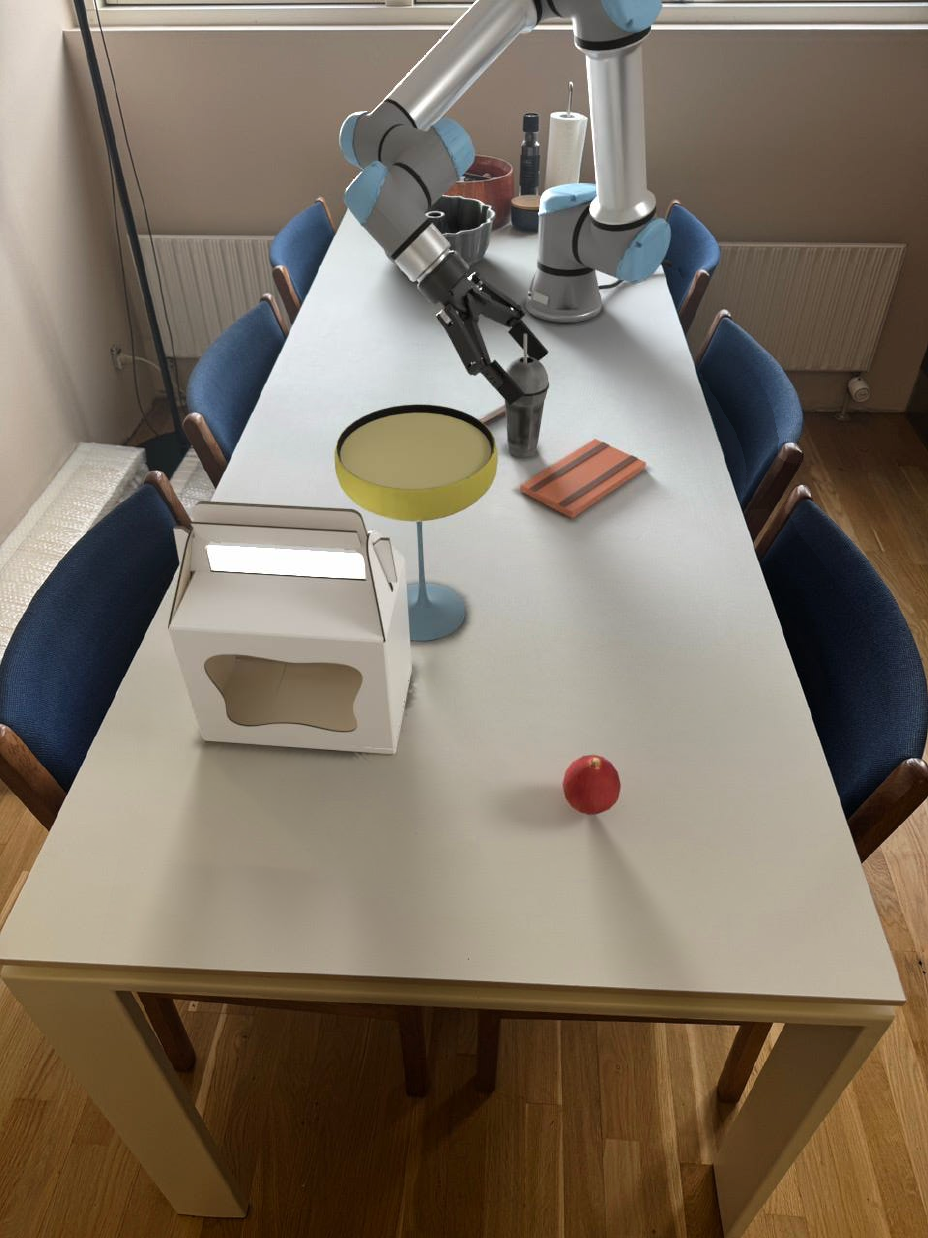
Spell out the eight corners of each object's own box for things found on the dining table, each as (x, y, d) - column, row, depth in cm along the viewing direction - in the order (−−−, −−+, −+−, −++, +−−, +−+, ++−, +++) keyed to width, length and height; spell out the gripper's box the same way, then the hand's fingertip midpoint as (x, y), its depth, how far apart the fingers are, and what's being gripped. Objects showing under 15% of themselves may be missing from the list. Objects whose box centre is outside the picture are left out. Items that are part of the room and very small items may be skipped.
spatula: (507, 398, 156) (507, 394, 156) (531, 409, 153) (531, 405, 153) (420, 445, 145) (420, 441, 145) (444, 458, 142) (444, 453, 142)
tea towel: (594, 445, 145) (595, 438, 144) (645, 468, 140) (646, 461, 139) (520, 491, 136) (520, 484, 135) (572, 518, 130) (572, 511, 130)
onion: (556, 786, 96) (561, 737, 90) (609, 782, 96) (618, 733, 90) (565, 832, 91) (571, 784, 86) (621, 828, 92) (630, 780, 86)
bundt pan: (353, 258, 203) (349, 212, 196) (440, 229, 216) (439, 185, 209) (430, 293, 189) (428, 245, 182) (518, 260, 202) (520, 214, 195)
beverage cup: (550, 441, 146) (558, 323, 132) (538, 465, 141) (545, 345, 127) (507, 434, 148) (511, 317, 134) (493, 457, 143) (496, 337, 129)
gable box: (200, 741, 100) (137, 542, 81) (233, 657, 110) (184, 462, 91) (397, 756, 99) (380, 556, 80) (414, 669, 108) (402, 473, 89)
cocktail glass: (402, 552, 125) (392, 389, 108) (518, 595, 118) (526, 427, 101) (324, 630, 113) (299, 461, 96) (448, 682, 107) (444, 510, 90)
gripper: (446, 251, 140) (534, 355, 147) (384, 317, 123) (487, 431, 129) (478, 219, 135) (568, 328, 142) (419, 283, 118) (524, 404, 125)
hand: (530, 378), depth 136 cm, fingers open, 13 cm apart
